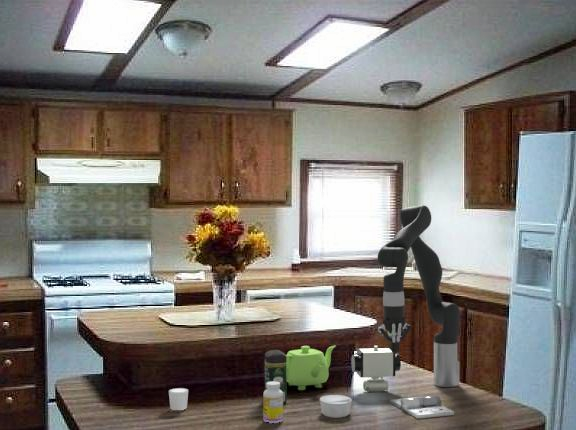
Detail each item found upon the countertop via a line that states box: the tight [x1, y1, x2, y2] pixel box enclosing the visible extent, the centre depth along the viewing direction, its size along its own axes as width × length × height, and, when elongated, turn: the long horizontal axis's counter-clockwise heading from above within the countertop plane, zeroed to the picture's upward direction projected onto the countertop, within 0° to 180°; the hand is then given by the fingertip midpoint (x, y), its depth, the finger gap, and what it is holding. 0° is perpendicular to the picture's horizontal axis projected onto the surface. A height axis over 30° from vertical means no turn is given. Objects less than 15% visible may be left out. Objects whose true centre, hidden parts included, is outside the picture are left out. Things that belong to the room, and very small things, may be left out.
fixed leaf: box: [389, 395, 442, 410], centre depth 255 cm, size 15×12×4 cm
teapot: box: [285, 345, 337, 391], centre depth 282 cm, size 25×22×16 cm
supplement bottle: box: [262, 381, 284, 424], centre depth 237 cm, size 7×7×13 cm
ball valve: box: [351, 345, 402, 393], centre depth 275 cm, size 18×8×18 cm, turn 97°
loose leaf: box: [401, 396, 455, 419], centre depth 247 cm, size 14×12×4 cm
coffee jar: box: [264, 349, 288, 404], centre depth 261 cm, size 10×8×19 cm
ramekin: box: [319, 394, 353, 419], centre depth 245 cm, size 11×11×5 cm
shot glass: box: [168, 387, 189, 410], centre depth 250 cm, size 7×7×7 cm
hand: (394, 352), depth 250 cm, fingers closed
